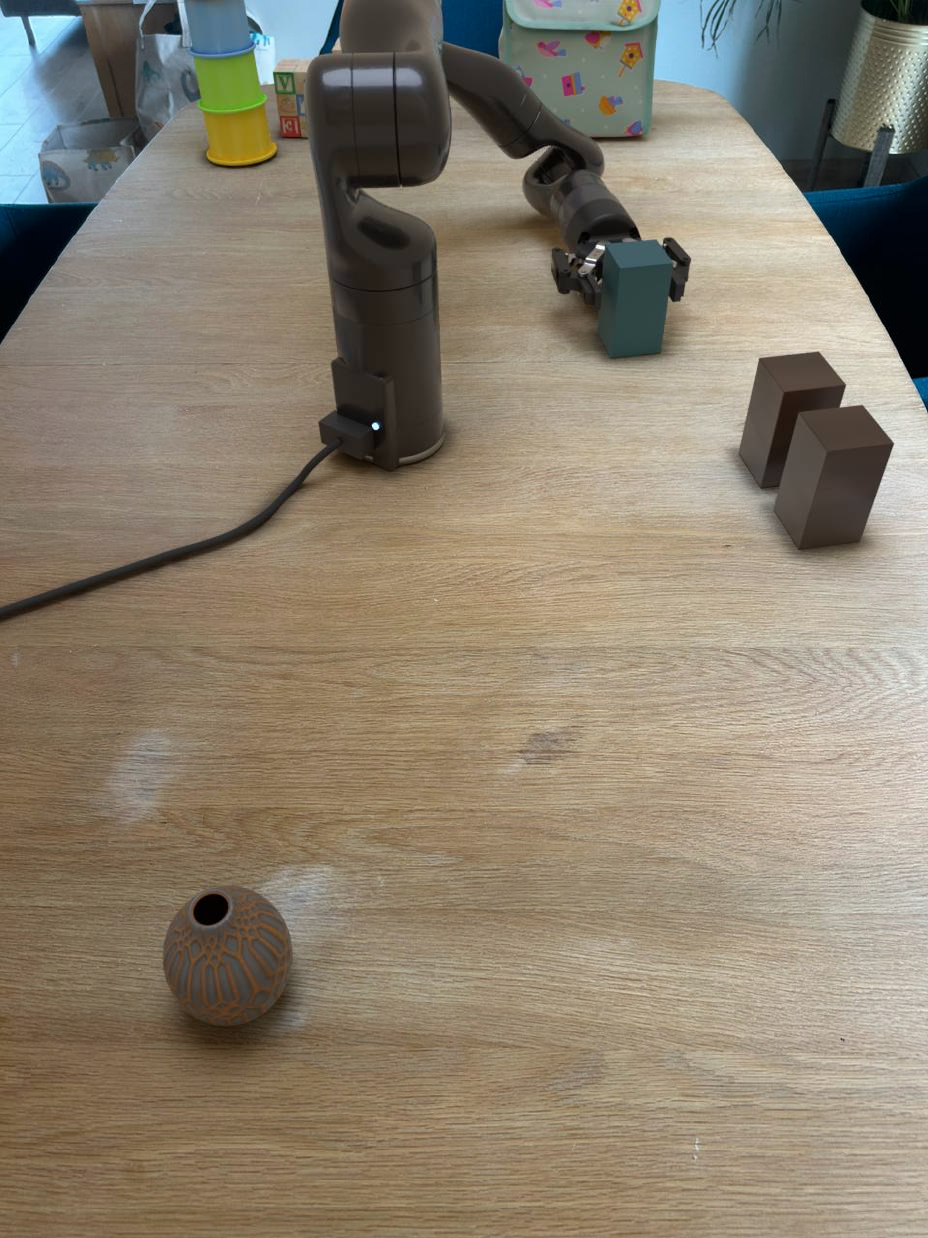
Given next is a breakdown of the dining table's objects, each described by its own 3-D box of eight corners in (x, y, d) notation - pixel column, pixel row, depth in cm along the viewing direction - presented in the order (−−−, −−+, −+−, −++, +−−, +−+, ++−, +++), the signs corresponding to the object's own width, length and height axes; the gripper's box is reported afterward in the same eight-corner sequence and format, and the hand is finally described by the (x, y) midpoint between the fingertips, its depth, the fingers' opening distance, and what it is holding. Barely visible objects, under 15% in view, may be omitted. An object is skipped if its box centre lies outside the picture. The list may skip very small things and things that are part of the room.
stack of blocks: (280, 138, 152) (268, 47, 143) (289, 123, 156) (278, 35, 147) (420, 141, 150) (416, 50, 141) (425, 125, 154) (421, 36, 146)
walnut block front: (860, 541, 84) (894, 443, 77) (798, 549, 84) (827, 451, 77) (832, 501, 88) (862, 404, 81) (773, 509, 87) (798, 411, 80)
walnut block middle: (818, 481, 90) (846, 384, 83) (760, 488, 90) (783, 391, 82) (793, 446, 94) (819, 350, 87) (738, 452, 93) (758, 357, 86)
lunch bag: (496, 146, 148) (498, -71, 129) (498, 107, 159) (500, -97, 140) (652, 146, 147) (677, -73, 128) (643, 107, 158) (665, -99, 139)
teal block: (661, 352, 106) (673, 262, 99) (610, 358, 106) (619, 268, 98) (645, 327, 110) (656, 238, 103) (597, 332, 109) (604, 243, 102)
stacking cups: (195, 165, 144) (136, -131, 120) (223, 139, 152) (172, -145, 127) (262, 170, 143) (216, -129, 118) (287, 144, 150) (248, -144, 125)
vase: (185, 934, 60) (151, 856, 54) (301, 923, 60) (280, 844, 54) (172, 1050, 55) (133, 978, 49) (298, 1037, 56) (274, 965, 49)
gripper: (537, 202, 110) (573, 269, 99) (661, 191, 112) (711, 255, 100) (534, 267, 116) (568, 337, 104) (653, 256, 117) (699, 324, 106)
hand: (638, 297), depth 102 cm, fingers open, 8 cm apart
